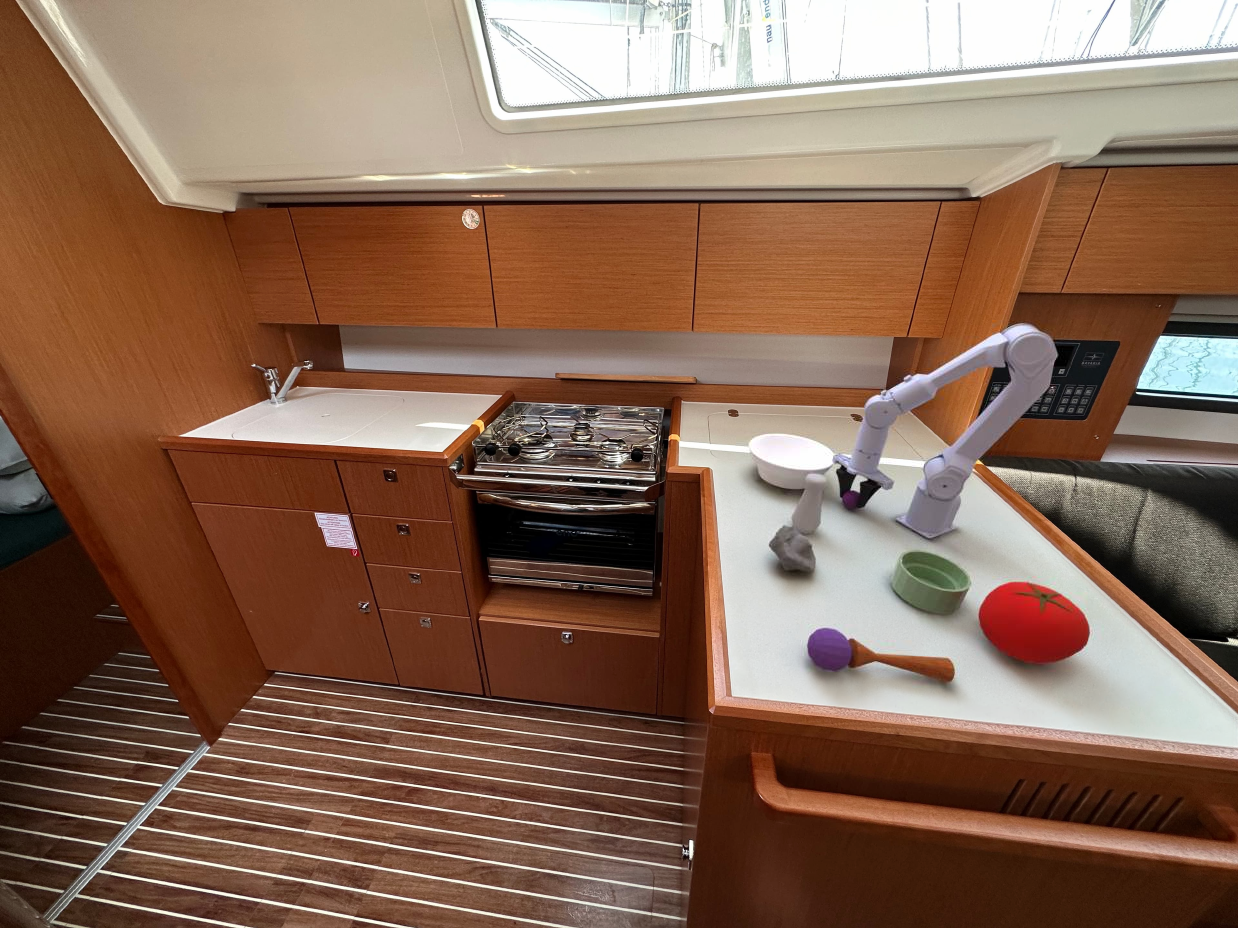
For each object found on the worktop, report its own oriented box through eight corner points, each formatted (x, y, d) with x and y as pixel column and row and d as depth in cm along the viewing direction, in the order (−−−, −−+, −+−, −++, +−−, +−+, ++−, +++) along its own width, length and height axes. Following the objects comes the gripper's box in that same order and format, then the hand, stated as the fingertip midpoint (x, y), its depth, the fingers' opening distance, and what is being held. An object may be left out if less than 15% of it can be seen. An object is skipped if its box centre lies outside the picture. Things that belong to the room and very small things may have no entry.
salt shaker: (819, 538, 99) (834, 485, 93) (791, 534, 100) (804, 481, 94) (815, 523, 104) (829, 471, 98) (788, 519, 105) (800, 468, 99)
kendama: (967, 679, 64) (819, 653, 65) (944, 699, 68) (805, 675, 69) (949, 640, 69) (812, 616, 70) (928, 661, 72) (798, 638, 73)
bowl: (818, 509, 109) (827, 478, 106) (732, 483, 119) (737, 454, 115) (834, 474, 125) (842, 446, 122) (757, 453, 135) (762, 427, 131)
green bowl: (914, 567, 92) (923, 544, 89) (972, 604, 83) (985, 580, 80) (876, 582, 87) (885, 559, 85) (934, 623, 78) (946, 599, 76)
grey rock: (815, 589, 85) (825, 554, 81) (763, 578, 87) (771, 543, 83) (812, 553, 94) (821, 520, 91) (766, 544, 97) (773, 511, 93)
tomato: (950, 625, 78) (976, 574, 73) (1009, 612, 82) (1037, 561, 76) (1022, 686, 68) (1058, 631, 63) (1086, 667, 71) (1124, 614, 66)
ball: (848, 501, 113) (853, 485, 111) (864, 510, 110) (869, 494, 108) (835, 505, 111) (840, 489, 109) (851, 514, 108) (856, 498, 106)
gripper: (828, 439, 108) (815, 490, 114) (885, 466, 96) (866, 521, 102) (850, 435, 110) (835, 485, 117) (907, 460, 99) (888, 514, 105)
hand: (851, 501), depth 110 cm, fingers closed on ball, 4 cm apart
